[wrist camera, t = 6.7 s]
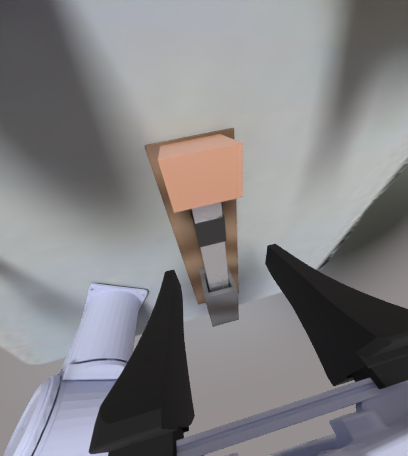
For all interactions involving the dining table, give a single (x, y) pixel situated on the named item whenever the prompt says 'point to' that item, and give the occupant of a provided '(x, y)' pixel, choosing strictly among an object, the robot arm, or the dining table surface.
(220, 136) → the peach-orange block
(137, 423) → the robot arm
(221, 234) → the grey banded bar
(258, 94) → the dining table surface
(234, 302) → the brown wooden bar
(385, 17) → the dining table surface
